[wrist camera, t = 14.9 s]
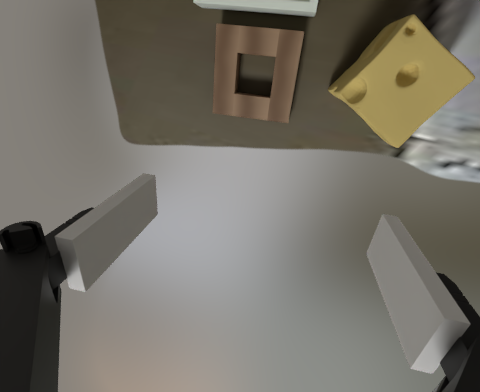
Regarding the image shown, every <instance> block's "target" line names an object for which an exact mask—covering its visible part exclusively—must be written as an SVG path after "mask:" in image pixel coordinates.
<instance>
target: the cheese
mask: <svg viewBox="0 0 480 392" xmlns="http://www.w3.org/2000/svg"><path fill="white" fill-rule="evenodd" d="M474 79H475V76H474V75H473V74H472V73H471V71H470V70H469V69H468V68H467V67H466V66H465V65H464V64H463V63H462V62H460V61H459V60H458V59H457V58H456V57H455V56H454V55H452V54H451V53H450V52H449V51H448V50H447V49H446V48H445V47H444V46H443V45H442V44H441V43H440V42H439V41H438V40H437V39H436V38H435V37H434V36H433V35H432V34H431V33H430V32H429V30H428V29H427V28H426V27H425V26H424V24H423V23H422V22H421V21H420V20H419V19H418V18H417V16H416V15H414V14H413V15H409V16H407V17H404V18H402V19H400V20H397V21H395V22H393V23H391V24H389V25H388V26H386V27H384V28H383V29H382V30H381V32H380V33H379V34H378V35H377V36H376V37H375V39H374V40H373V41H372V42H371V43H370V44H369V45H368V47H367V48H366V49H365V50H364V51H363V53H362V54H361V55H360V57H359V58H358V60H357V61H356V62H355V63H354V64H353V65H352V66H351V67H350V68H349V69H347V70H346V71H345V72H344V73H343V74H342V75H341V76H340V77H339V78H338V79H337V80H336V81H335V82H334V83H333V84H332V85H331V86H330V87H329V88H328V91H329V92H330V93H331V94H332V95H334V96H336V97H337V98H339V99H341V100H342V101H344V102H345V103H346V104H348V105H349V106H350V107H351V108H352V109H353V110H354V111H355V112H356V113H357V114H358V115H359V116H360V117H361V118H363V120H364V121H365V122H366V123H367V124H368V125H369V126H370V128H371V129H372V130H373V131H374V132H375V133H376V134H377V135H378V136H379V137H380V138H382V139H383V140H384V141H385V142H387V143H388V144H390V145H392V146H394V147H396V148H398V147H400V146H401V145H402V144H403V143H404V142H405V141H406V140H407V139H408V138H409V137H410V136H411V135H412V134H413V133H414V132H415V131H416V130H417V129H418V128H419V127H420V126H421V125H422V124H423V123H424V122H425V121H426V120H427V119H428V118H430V117H431V116H432V115H433V114H434V113H435V112H436V111H438V110H439V109H440V108H441V107H442V106H443V105H444V104H446V103H447V102H448V101H449V100H450V99H451V98H452V97H454V96H455V95H456V94H457V93H458V92H460V91H461V90H462V89H463V88H464V87H465V86H467V85H468V84H469V83H470V82H471V81H473V80H474Z"/></svg>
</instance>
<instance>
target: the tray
mask: <svg viewBox="0 0 480 392" xmlns="http://www.w3.org/2000/svg"><path fill="white" fill-rule="evenodd" d="M193 3H195V4H197V5H198V6H200V7H201V8H211V9H223V10H236V11H248V12H260V13H272V14H284V15H296V16H309V17H314V16H315V14H316V10H317V4H318V0H194V1H193Z"/></svg>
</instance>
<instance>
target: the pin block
mask: <svg viewBox="0 0 480 392" xmlns="http://www.w3.org/2000/svg"><path fill="white" fill-rule="evenodd" d="M303 36H304V31H295V30H284V29H273V28H261V27H250V26H239V25H228V24H217V26H216V49H215V71H214V94H213V113H216V114H223V115H231V116H238V117H246V118H253V119H261V120H268V121H276V122H283V123H288V121H289V115H290V109H291V104H292V98H293V93H294V87H295V81H296V76H297V70H298V64H299V59H300V53H301V47H302V42H303ZM241 53H242V54H251V55H261V56H271V57H276V60H275V67H274V75H273V82H272V89H271V96H263V95H255V94H247V93H239V92H238V80H239V68H240V56H241Z"/></svg>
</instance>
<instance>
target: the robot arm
mask: <svg viewBox="0 0 480 392" xmlns="http://www.w3.org/2000/svg"><path fill="white" fill-rule="evenodd" d="M157 214H158V212H157V196H156V180H155V175H150V174H142V175H141V176H139V177H138V178H136V179H135V180H133V181H132V182H131V183H129V184H128V185H126V186H125V187H124V188H122V189H121V190H119V191H118V192H117V193H115V194H114V195H112V196H111V197H109V198H108V199H107V200H105V201H104V202H102V203H101V204H100V205H98V206H97V207H95V208H89V209H87V210H84V211H81V212H80V213H78V214H77V215H75V216H74V217H73V218H72V219H69V220H68V221H66V223H63V224H62V225H61V226H59V227H58V228H56V229H55V230H53V231H52V232H51V233H49V234H47V235H46V236H44V233H43V230H42V227H41V224H40V223H38V222H34V221H26V222H19V223H15V224H12V225H9V226H7V227H5V228H4V229H2V230H1V231H0V243H1V245H2V247H3V249H1V250H0V392H58V368H59V340H60V312H61V288H60V284H61V283H62V282H63V281H64V280H65V279H66V278H67V281H68V285H69V288H71V289H75V290H79V291H84V292H86V291H87V290H88V289H89V288H90V287H91V285H92V284H93V283H94V282H95V281H96V280H97V279H98V278H99V277H100V276H101V275H102V274H103V272H104V271H105V270H106V269H107V268H108V267H109V266H110V265H111V264H112V263H113V262H114V261H115V260H116V259H117V258H118V256H119V255H120V254H121V253H122V252H123V251H124V250H125V249H126V248H127V247H128V246H129V244H131V242H132V241H133V240H134V239H135V238H136V237H137V236H138V235H139V234H140V233H141V232H142V231H143V229H144V228H145V227H146V226H147V225H148V224H149V223H150V222H151V221H152V220H153V219H154V218H155V217H156V215H157ZM367 256H368V259H369V262H370V264H371V267H372V270H373V272H374V275H375V278H376V280H377V283H378V286H379V288H380V291H381V293H382V296H383V299H384V301H385V304H386V306H387V309H388V312H389V314H390V317H391V320H392V322H393V325H394V327H395V330H396V333H397V335H398V338H399V341H400V343H401V346H402V348H403V351H404V354H405V356H406V358H407V362H408V364H409V367H410V369H414V370H418V371H423V372H427V373H431V374H433V373H434V371H435V370H436V369H437V367H438V366H439V365H440V364H441V366H442V368H443V370H444V372H445V374H446V376H445V377H444V378H443V380H442V381H441V382H440V383H439V384H438V386H437V387H436V388H435V389H434V391H433V392H480V317H479V315H478V314H477V313H476V311H475V310H474V309H473V307H472V306H471V305H470V304H469V302H468V300H467V299H466V298H465V296H463V294H462V292H461V291H460V290H459V288H458V287H457V285H456V284H455V283H454V282H452V281H451V280H450V279H449V278H448V277H447V276H445V275H444V274H441V273H436V272H435V271H434V269H433V268H432V266H431V265H430V263H429V262H428V260H427V259H426V258H425V256H424V255H423V253H422V252H421V250H420V249H419V247H418V246H417V244H416V243H415V242H414V240H413V239H412V237H411V236H410V234H409V233H408V231H407V230H406V228H405V227H404V225H403V224H402V223H401V221H400V220H399V218H398V217H397V216H391V215H386V214H382V216H381V219H380V221H379V224H378V226H377V229H376V231H375V234H374V236H373V238H372V241H371V243H370V246H369V248H368V251H367Z"/></svg>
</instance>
